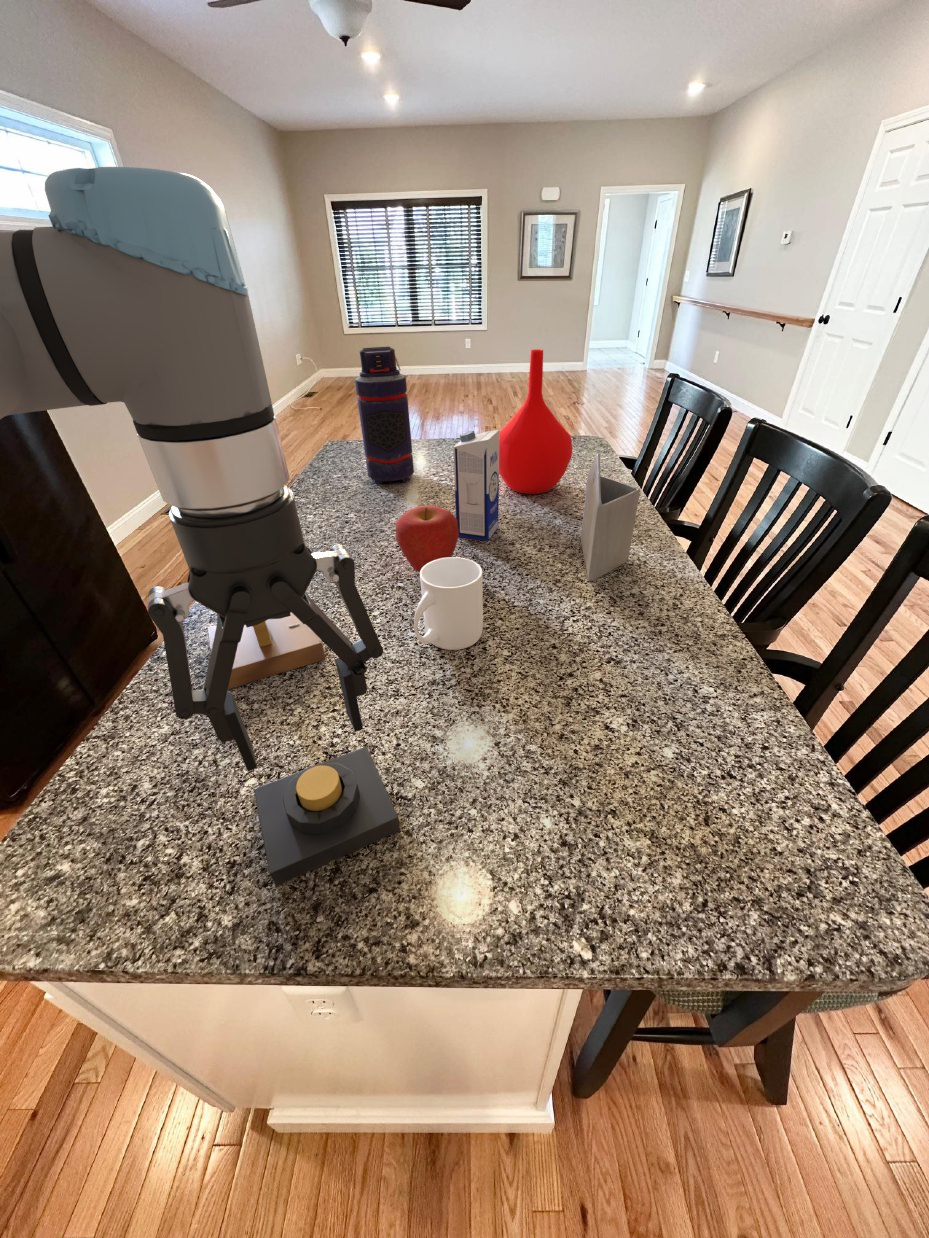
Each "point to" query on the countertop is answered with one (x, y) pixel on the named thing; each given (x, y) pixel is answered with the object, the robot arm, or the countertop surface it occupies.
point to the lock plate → (273, 650)
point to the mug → (451, 603)
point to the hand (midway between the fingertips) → (304, 738)
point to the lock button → (319, 788)
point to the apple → (426, 535)
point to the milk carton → (477, 484)
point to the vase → (534, 441)
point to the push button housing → (324, 818)
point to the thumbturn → (262, 634)
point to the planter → (607, 522)
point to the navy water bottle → (384, 416)
